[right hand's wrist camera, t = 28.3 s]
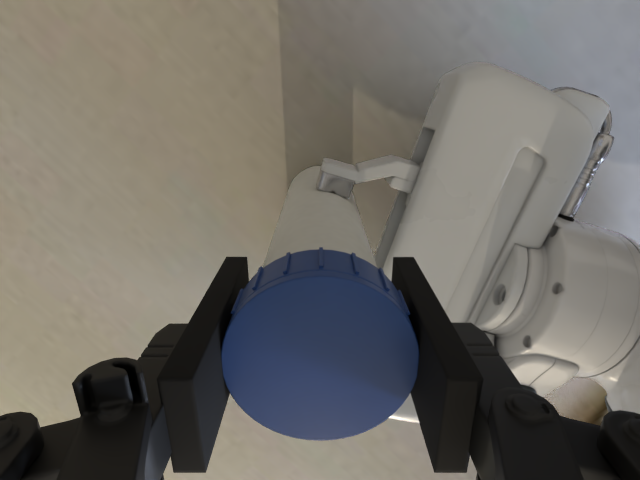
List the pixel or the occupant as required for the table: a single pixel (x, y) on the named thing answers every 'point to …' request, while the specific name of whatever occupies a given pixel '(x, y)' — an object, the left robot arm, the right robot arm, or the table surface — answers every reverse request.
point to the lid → (320, 346)
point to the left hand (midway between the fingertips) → (304, 225)
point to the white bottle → (318, 221)
